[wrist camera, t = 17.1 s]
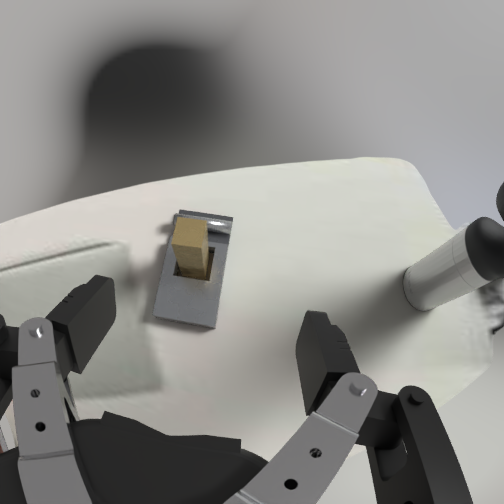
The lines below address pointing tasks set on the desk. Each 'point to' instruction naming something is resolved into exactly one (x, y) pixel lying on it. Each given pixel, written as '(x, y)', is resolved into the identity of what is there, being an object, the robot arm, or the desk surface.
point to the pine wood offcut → (191, 247)
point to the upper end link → (190, 291)
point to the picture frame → (2, 443)
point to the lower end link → (210, 227)
